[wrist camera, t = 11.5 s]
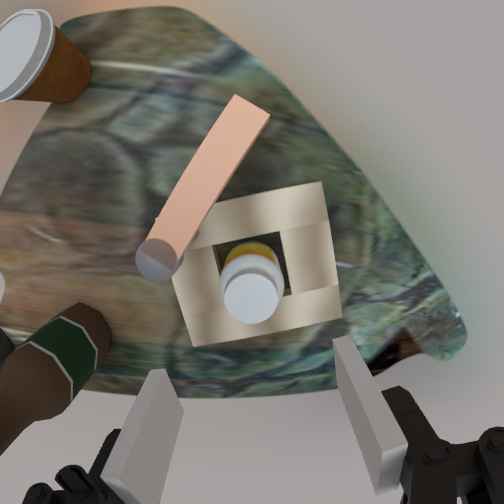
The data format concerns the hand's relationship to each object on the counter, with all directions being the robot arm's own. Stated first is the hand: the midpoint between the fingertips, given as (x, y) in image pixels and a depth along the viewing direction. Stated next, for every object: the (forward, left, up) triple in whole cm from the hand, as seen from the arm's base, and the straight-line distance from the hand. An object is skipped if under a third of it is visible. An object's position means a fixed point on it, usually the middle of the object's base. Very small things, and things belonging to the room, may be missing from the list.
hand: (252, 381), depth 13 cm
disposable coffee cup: (-16, +26, -19) cm, 36 cm away
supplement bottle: (0, 0, -19) cm, 19 cm away
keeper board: (0, 0, -19) cm, 19 cm away
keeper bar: (-2, +8, -8) cm, 12 cm away
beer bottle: (-22, -4, -19) cm, 30 cm away
